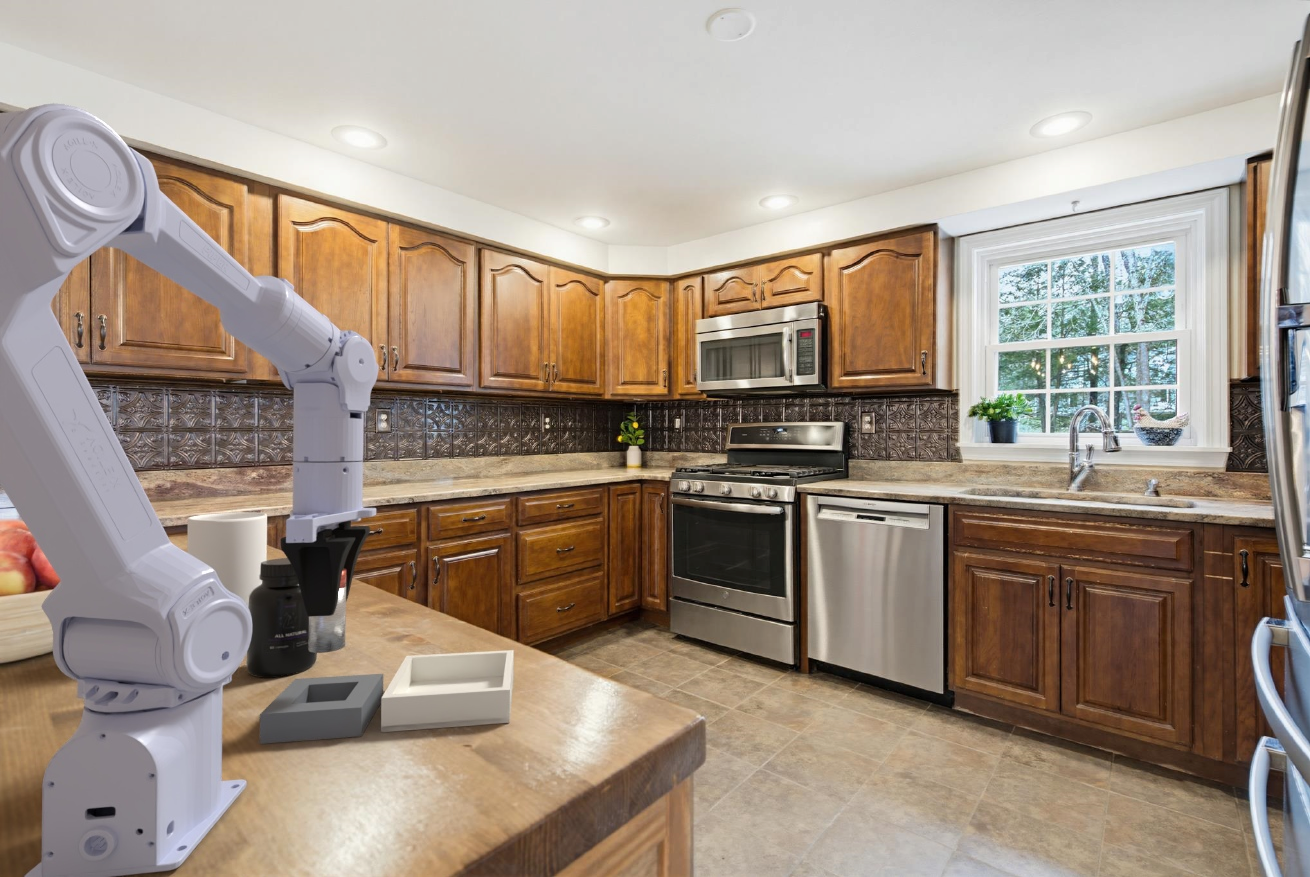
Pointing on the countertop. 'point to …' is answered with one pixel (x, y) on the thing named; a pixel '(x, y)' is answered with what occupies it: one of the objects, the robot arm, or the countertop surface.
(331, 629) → the stop pin
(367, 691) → the gray square holder
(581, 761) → the countertop surface
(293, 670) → the supplement bottle
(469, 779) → the countertop surface
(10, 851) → the countertop surface
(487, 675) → the pin tray
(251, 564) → the cup
